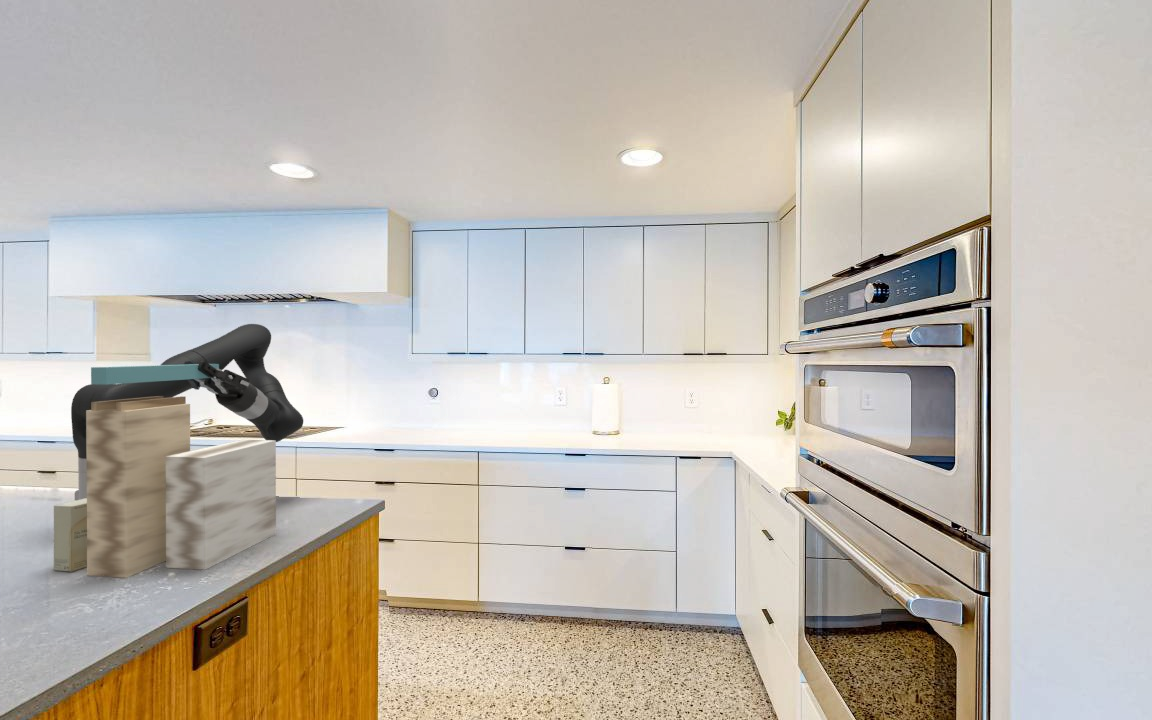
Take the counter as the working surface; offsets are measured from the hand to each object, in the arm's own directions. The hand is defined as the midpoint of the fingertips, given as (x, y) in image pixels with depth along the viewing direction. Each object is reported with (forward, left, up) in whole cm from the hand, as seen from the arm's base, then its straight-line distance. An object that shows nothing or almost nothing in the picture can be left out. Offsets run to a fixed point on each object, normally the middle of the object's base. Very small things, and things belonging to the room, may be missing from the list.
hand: (193, 364), depth 117 cm
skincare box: (-10, -15, -38) cm, 42 cm away
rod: (0, -8, -3) cm, 8 cm away
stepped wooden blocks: (+6, -7, -38) cm, 39 cm away
